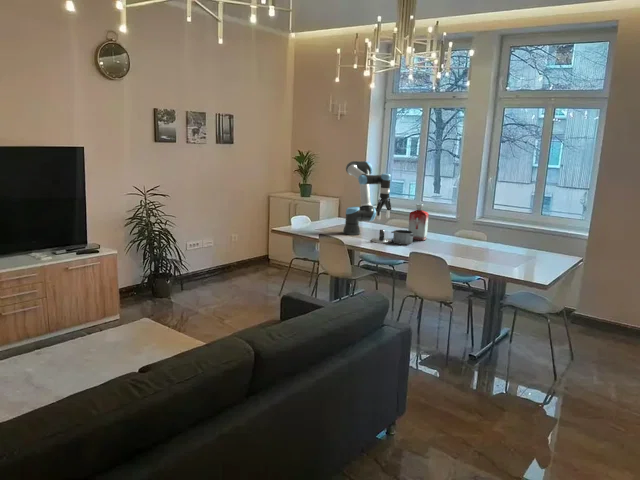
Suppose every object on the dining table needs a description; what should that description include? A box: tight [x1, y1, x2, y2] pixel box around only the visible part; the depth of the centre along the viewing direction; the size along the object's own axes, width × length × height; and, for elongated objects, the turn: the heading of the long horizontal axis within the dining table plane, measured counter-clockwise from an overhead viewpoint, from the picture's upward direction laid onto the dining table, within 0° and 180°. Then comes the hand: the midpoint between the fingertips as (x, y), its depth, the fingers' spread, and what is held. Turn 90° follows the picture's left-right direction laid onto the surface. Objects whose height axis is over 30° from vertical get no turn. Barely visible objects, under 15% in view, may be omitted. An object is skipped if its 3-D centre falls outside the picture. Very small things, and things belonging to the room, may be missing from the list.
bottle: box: [407, 203, 430, 242], centre depth 433 cm, size 14×10×30 cm
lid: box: [371, 229, 392, 244], centre depth 422 cm, size 16×16×10 cm
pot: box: [390, 229, 416, 246], centre depth 420 cm, size 21×16×9 cm
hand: (383, 218), depth 419 cm, fingers open, 13 cm apart
